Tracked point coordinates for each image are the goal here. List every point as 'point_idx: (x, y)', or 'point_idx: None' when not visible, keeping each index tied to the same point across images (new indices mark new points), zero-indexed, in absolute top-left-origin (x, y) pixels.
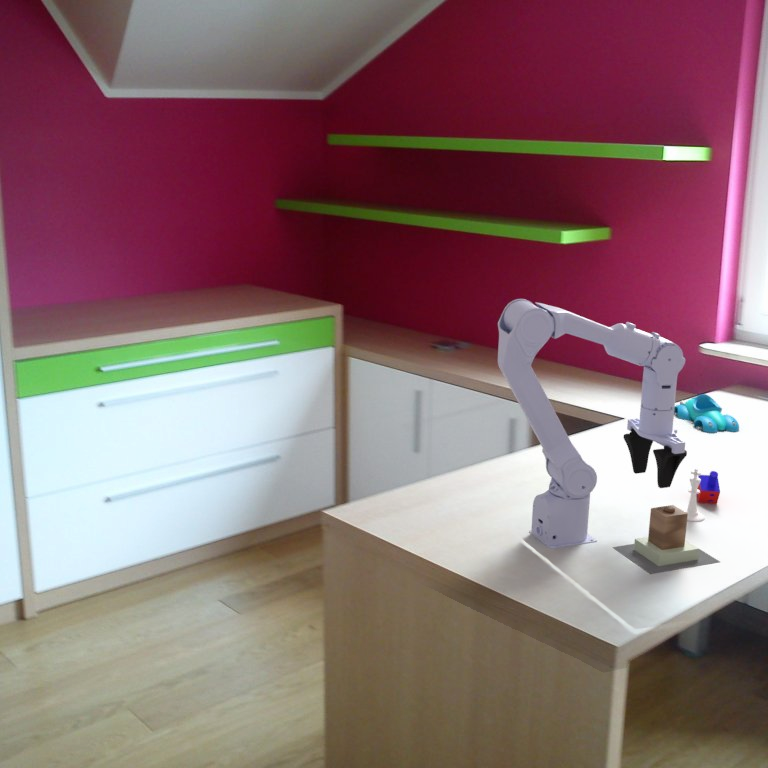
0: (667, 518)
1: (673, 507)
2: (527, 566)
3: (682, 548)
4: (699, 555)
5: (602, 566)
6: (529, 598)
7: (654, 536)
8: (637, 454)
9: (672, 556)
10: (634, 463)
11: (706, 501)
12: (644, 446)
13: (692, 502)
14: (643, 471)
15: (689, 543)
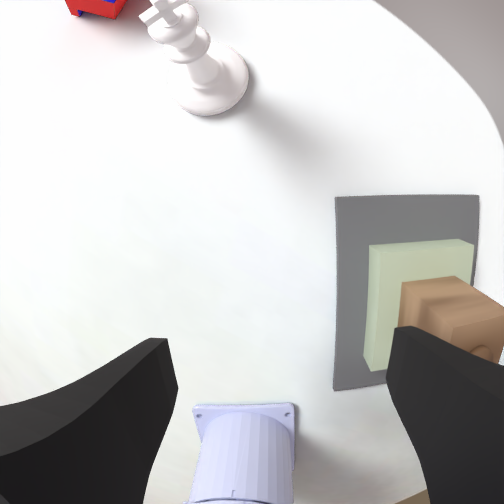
0: None
1: (483, 351)
2: (328, 493)
3: None
4: (445, 220)
5: (383, 422)
6: (400, 495)
7: None
8: (137, 461)
9: None
10: (163, 435)
11: (124, 1)
12: (98, 469)
13: (205, 65)
14: (168, 352)
15: (447, 250)
